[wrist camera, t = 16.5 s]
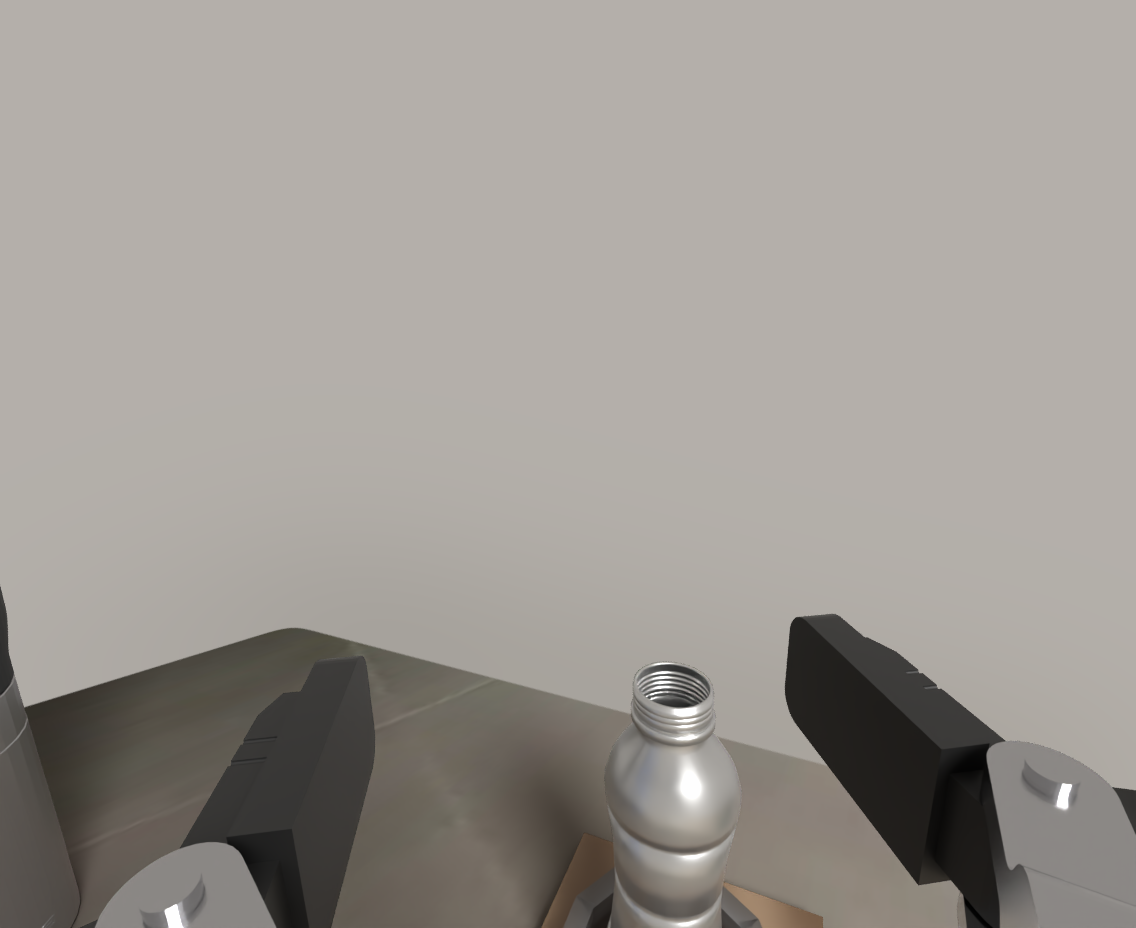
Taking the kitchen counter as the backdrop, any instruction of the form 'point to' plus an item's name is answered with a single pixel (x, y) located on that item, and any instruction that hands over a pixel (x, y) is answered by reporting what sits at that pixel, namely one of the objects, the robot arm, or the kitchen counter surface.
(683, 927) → the silver aluminium bottle
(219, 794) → the robot arm
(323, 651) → the kitchen counter surface
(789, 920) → the bottle dock
